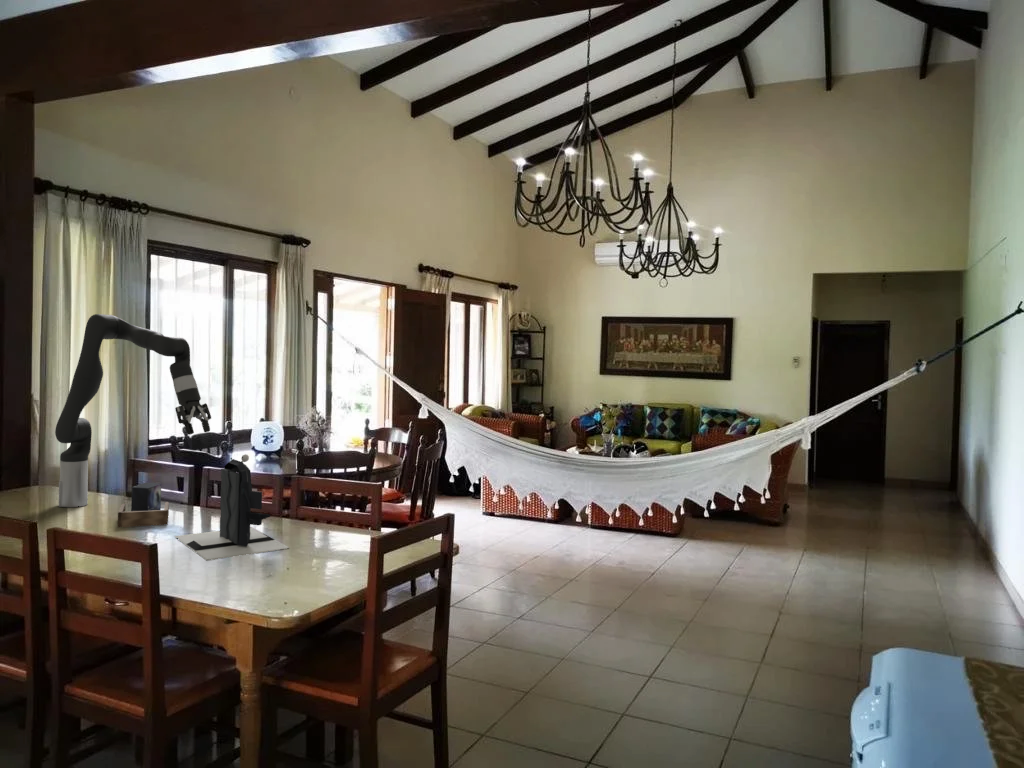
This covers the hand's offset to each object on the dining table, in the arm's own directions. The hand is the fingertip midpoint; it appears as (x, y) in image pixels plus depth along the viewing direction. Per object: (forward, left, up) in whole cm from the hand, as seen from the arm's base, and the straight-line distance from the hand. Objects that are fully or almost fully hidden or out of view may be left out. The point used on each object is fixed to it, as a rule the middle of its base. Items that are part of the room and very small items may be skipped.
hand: (199, 432), depth 272 cm
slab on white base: (+10, -37, -32) cm, 50 cm away
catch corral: (-17, +2, -31) cm, 36 cm away
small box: (-17, +16, -32) cm, 40 cm away
